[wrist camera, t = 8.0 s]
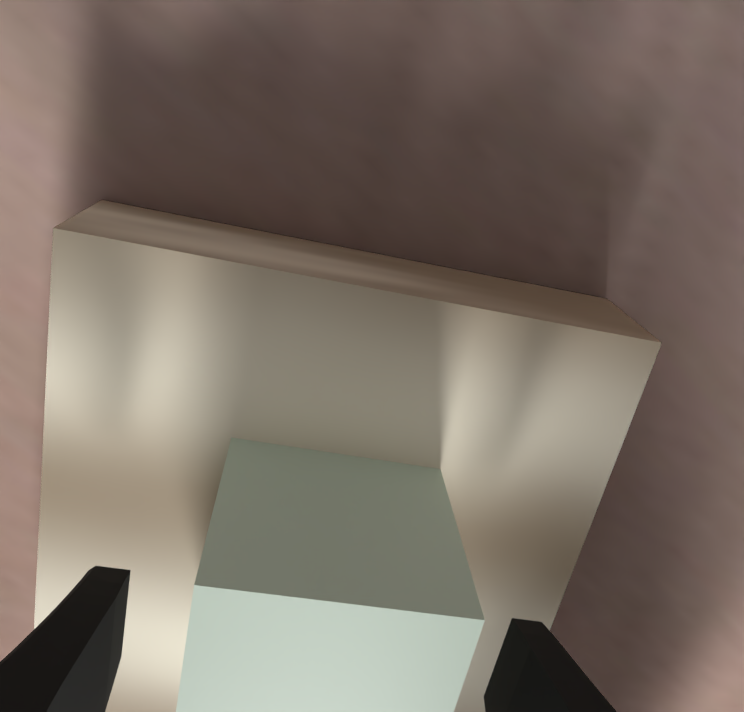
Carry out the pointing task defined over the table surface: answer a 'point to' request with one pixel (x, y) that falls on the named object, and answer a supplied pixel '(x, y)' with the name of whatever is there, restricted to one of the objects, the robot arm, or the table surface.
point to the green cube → (329, 588)
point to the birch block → (312, 410)
